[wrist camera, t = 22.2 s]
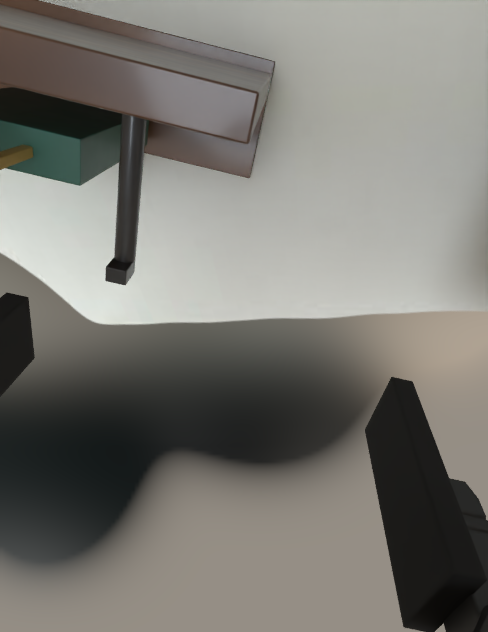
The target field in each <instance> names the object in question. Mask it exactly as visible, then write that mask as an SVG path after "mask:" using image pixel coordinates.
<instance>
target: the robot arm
mask: <svg viewBox="0 0 488 632" xmlns="http://www.w3.org/2000/svg"><path fill="white" fill-rule="evenodd" d="M33 359H34V348H33V338H32V329H31V319H30V309H29V300H28V297H24V296H19V295H15V294H11V293H6V294H4V295H3V296H2V297H1V298H0V396H1V395H2V394H3V393H4V392H5V391H6V390H7V389H8V387H9V386H10V385H11V384H12V383H13V382H14V381H15V380H16V378H17V377H18V376H19V375H20V374H21V373H22V372H23V370H24V369H25V368H26V367H27V366H28V365H29V364H30V363H31V362H32V360H33ZM365 433H366V438H367V443H368V448H369V453H370V458H371V464H372V469H373V474H374V479H375V484H376V489H377V494H378V499H379V505H380V510H381V515H382V520H383V525H384V530H385V535H386V539H387V545H388V550H389V555H390V560H391V566H392V571H393V576H394V581H395V585H396V591H397V596H398V601H399V606H400V612H401V617H402V622H403V626H404V627H405V628H410V629H415V630H419V631H424V632H435V631H436V630H437V629H438V628H439V627H440V626H441V625H442V624H443V623H444V626H445V630H446V632H488V521H487V520H486V515H485V513H484V511H483V508H482V506H481V504H480V501H479V499H478V498H477V496H476V495H475V494H474V493H473V491H472V490H471V489H470V488H469V486H468V485H467V484H466V482H463V481H459V480H454V479H450V478H449V477H448V474H447V472H446V469H445V466H444V464H443V461H442V459H441V456H440V453H439V450H438V448H437V445H436V443H435V440H434V437H433V434H432V432H431V429H430V427H429V424H428V421H427V419H426V416H425V413H424V411H423V408H422V405H421V403H420V400H419V397H418V395H417V392H416V389H415V387H414V384H413V382H412V381H407V380H403V379H399V378H394V377H391V379H390V381H389V383H388V385H387V387H386V389H385V391H384V393H383V395H382V397H381V399H380V401H379V403H378V405H377V407H376V409H375V411H374V413H373V415H372V417H371V419H370V421H369V423H368V425H367V427H366V429H365Z"/></svg>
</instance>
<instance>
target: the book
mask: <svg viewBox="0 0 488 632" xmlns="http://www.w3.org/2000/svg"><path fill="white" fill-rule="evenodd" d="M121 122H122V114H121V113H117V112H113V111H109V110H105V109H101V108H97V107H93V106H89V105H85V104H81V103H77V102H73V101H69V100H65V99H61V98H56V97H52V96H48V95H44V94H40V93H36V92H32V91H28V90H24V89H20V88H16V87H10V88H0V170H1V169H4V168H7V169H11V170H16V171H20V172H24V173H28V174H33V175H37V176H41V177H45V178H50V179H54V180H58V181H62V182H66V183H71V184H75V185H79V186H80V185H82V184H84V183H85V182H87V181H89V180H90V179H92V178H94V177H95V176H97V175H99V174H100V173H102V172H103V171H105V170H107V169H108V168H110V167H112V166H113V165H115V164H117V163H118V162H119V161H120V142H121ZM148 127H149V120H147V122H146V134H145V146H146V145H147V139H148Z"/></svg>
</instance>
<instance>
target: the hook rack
mask: <svg viewBox="0 0 488 632" xmlns="http://www.w3.org/2000/svg"><path fill="white" fill-rule="evenodd" d="M274 65H275V61H271V60H267V59H263V58H260V57H256V56H252V55H248V54H244V53H240V52H236V51H233V50H229V49H225V48H221V47H217V46H213V45H209V44H205V43H202V42H198V41H194V40H190V39H186V38H182V37H178V36H174V35H171V34H167V33H163V32H159V31H155V30H151V29H147V28H144V27H140V26H136V25H132V24H128V23H124V22H120V21H116V20H113V19H109V18H105V17H101V16H97V15H93V14H89V13H86V12H82V11H78V10H74V9H70V8H66V7H62V6H58V5H55V4H51V3H47V2H43V1H39V0H0V88H10V87H16V88H20V89H24V90H28V91H32V92H36V93H40V94H44V95H48V96H52V97H56V98H61V99H65V100H69V101H73V102H77V103H81V104H85V105H89V106H93V107H97V108H101V109H105V110H109V111H113V112H117V113H121V114H122V122H121V142H120V161H119V180H118V199H117V218H116V237H115V257H114V258H113V259H112V261H111V262H110V263H109V264H108V265H107V266H106V281H108V282H113V283H117V284H122V285H126V284H127V282H128V281H129V279H130V278H131V276H132V275H133V273H134V268H135V256H136V244H137V232H138V219H139V207H140V195H141V183H142V171H143V159H144V153H148V154H152V155H156V156H160V157H164V158H168V159H172V160H176V161H180V162H185V163H189V164H193V165H197V166H201V167H205V168H209V169H213V170H217V171H222V172H226V173H230V174H234V175H238V176H242V177H246V178H250V174H251V170H252V165H253V161H254V156H255V152H256V147H257V142H258V138H259V133H260V129H261V124H262V120H263V115H264V111H265V106H266V102H267V97H268V93H269V88H270V83H271V79H272V74H273V70H274ZM147 120H149V127H148V139H147V145H146V146H145V134H146V122H147Z"/></svg>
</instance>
